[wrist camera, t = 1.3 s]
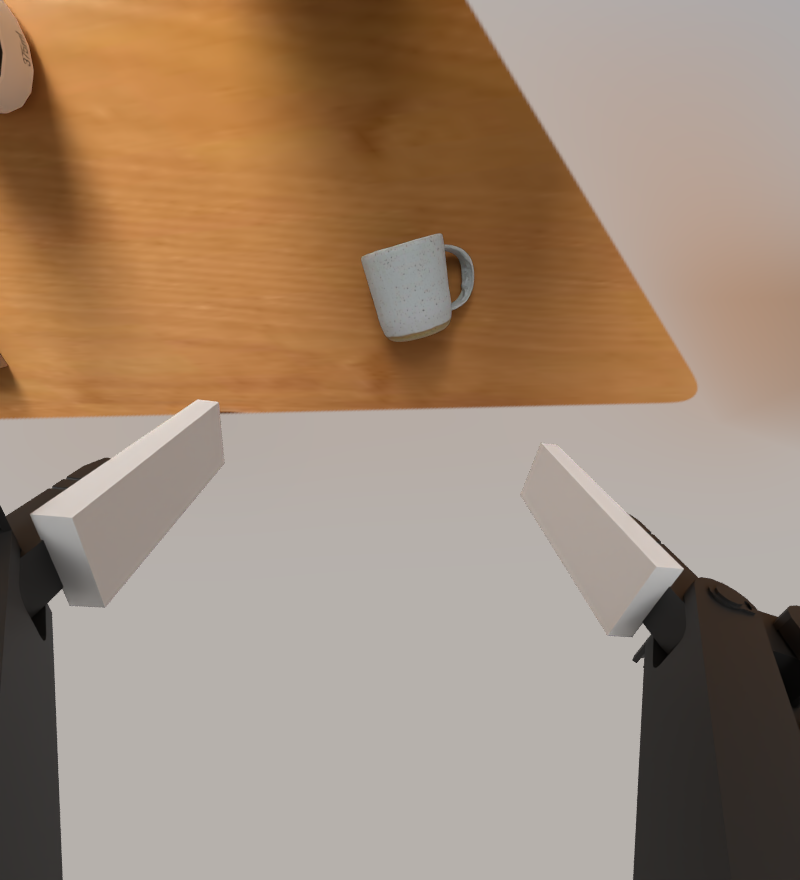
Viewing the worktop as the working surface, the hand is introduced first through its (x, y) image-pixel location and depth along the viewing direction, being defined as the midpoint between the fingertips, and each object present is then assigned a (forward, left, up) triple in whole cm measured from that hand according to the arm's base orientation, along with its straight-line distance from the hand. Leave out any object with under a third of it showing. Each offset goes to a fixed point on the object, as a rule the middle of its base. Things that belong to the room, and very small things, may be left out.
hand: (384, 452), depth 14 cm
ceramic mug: (-6, +5, -26) cm, 27 cm away
